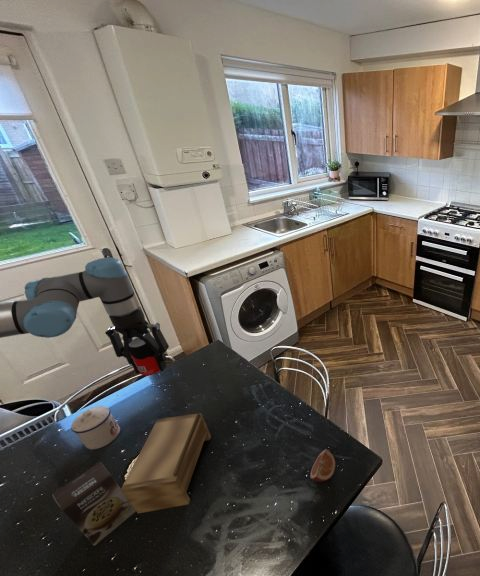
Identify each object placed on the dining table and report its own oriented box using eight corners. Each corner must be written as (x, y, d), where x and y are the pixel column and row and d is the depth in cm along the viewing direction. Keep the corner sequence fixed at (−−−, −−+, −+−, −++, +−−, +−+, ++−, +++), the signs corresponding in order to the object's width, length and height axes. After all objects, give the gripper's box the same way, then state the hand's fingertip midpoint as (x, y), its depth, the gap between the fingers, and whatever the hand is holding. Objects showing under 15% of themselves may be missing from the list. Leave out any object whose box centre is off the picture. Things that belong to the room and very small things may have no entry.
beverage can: (155, 377, 98) (142, 348, 92) (135, 377, 98) (121, 347, 92) (168, 364, 104) (156, 335, 98) (149, 363, 104) (136, 334, 98)
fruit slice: (318, 456, 93) (316, 446, 90) (339, 460, 92) (338, 450, 89) (306, 485, 86) (304, 474, 83) (330, 490, 85) (328, 479, 82)
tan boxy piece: (137, 513, 79) (118, 487, 73) (169, 442, 96) (156, 416, 90) (188, 504, 81) (173, 477, 75) (211, 436, 98) (200, 410, 92)
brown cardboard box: (94, 547, 73) (60, 511, 65) (83, 530, 76) (49, 494, 68) (137, 510, 80) (111, 474, 72) (126, 496, 83) (99, 460, 75)
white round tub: (123, 438, 97) (107, 413, 92) (85, 456, 92) (66, 431, 86) (118, 414, 105) (103, 389, 100) (83, 430, 100) (65, 405, 94)
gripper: (166, 300, 95) (188, 358, 106) (94, 306, 91) (124, 365, 102) (155, 314, 88) (179, 374, 99) (77, 320, 85) (111, 381, 96)
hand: (151, 369), depth 101 cm, fingers closed on beverage can, 6 cm apart
